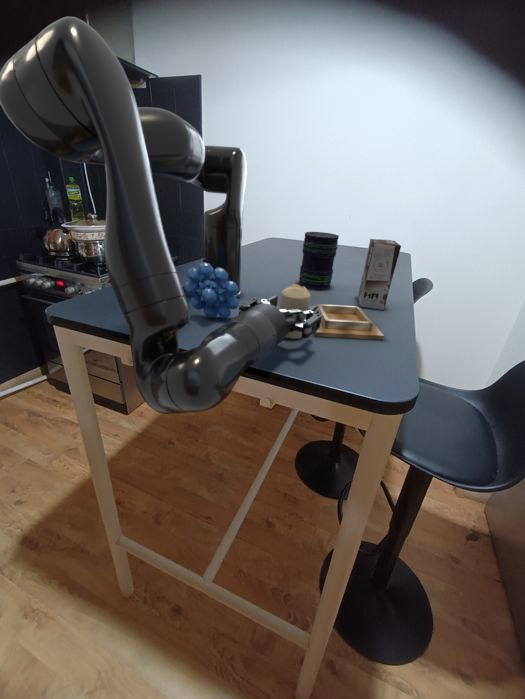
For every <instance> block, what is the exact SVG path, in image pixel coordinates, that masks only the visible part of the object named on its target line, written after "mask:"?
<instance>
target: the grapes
mask: <svg viewBox="0 0 525 699" xmlns="http://www.w3.org/2000/svg"><path fill="white" fill-rule="evenodd" d="M187 278H188V280H187V281H186V282H185V283H184V285H183V287H184V288H185V290H184V292H185V294H186V293H187V295H189V296H191V298H190V304H191V306H192V308H194V309H196V310H202V309H203V313H204V315H205V316H206V318H209V319H214V318H216V317H217V316H219V317H220V318H222V319H227V318H229V317H230V316H231V314H232V312H231V310H236V309H239V306H240V302H239V299H238V298H236V297H235V296H233V295H235V294H237V292H238V286H237V285H236V284H235V282H233V281H230V280H229V281H227V280H228V273H227V272H226V271H225V269H223V268H220V267H218V268H216V269H215V270H214V271H213V268H212V266H211V265H210V264H209V263H206V262H203V261H202V262H201V263H200V264H199V266H198V268H197V267H196V268H195V267H191V268H189V269H188V270H187Z"/></svg>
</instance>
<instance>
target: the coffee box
mask: <svg viewBox="0 0 525 699" xmlns="http://www.w3.org/2000/svg"><path fill="white" fill-rule="evenodd" d="M401 247H402V245H401V244H399V243H398V242H397V241H396V240H391V239H381V238H380V239H375V238H370V239H369V242H368V247H367V252H366V257H365V262H364V265H363V271H362V276H361V281H360V286H359V290H358V294H357V299H358V303H359V307H360V308H366V309H367V308H368V309H374V310H380V311H384V310H385V307H386V304H387V300H388V295H389V292H390V289H391V285H392V281H393V277H394V274H395V270H396V267H397V262H398V259H399V256H400V253H401V252H400V251H401V249H402V248H401Z"/></svg>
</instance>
